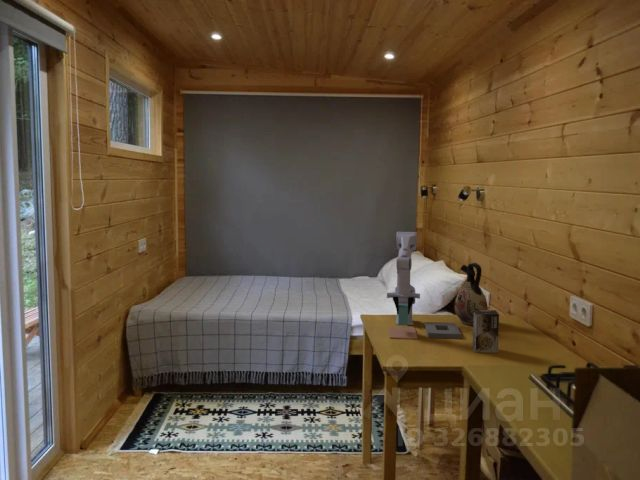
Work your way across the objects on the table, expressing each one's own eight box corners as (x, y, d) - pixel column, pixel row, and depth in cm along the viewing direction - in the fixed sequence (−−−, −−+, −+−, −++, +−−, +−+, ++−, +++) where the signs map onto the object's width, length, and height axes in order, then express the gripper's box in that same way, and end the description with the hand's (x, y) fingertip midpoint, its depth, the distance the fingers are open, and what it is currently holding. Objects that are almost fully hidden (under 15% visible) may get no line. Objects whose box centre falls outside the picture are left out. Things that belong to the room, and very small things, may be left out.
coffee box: (494, 348, 219) (496, 309, 217) (498, 353, 213) (499, 314, 211) (471, 347, 220) (473, 309, 218) (474, 352, 214) (476, 313, 212)
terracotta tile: (388, 328, 248) (388, 326, 247) (414, 328, 246) (414, 327, 246) (389, 338, 232) (389, 337, 232) (417, 339, 231) (417, 337, 231)
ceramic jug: (447, 320, 260) (449, 260, 256) (472, 317, 267) (474, 258, 263) (470, 329, 245) (473, 265, 241) (496, 326, 251) (499, 263, 248)
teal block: (397, 321, 241) (398, 304, 240) (406, 321, 241) (407, 304, 240) (398, 325, 235) (398, 307, 234) (407, 325, 235) (408, 307, 234)
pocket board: (424, 326, 251) (424, 321, 251) (454, 326, 250) (454, 322, 249) (428, 337, 233) (428, 333, 233) (461, 338, 232) (461, 334, 232)
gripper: (387, 285, 233) (386, 315, 235) (420, 286, 232) (420, 316, 233) (386, 282, 240) (386, 311, 242) (419, 282, 239) (418, 312, 240)
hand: (402, 313), depth 238 cm, fingers closed on teal block, 4 cm apart
